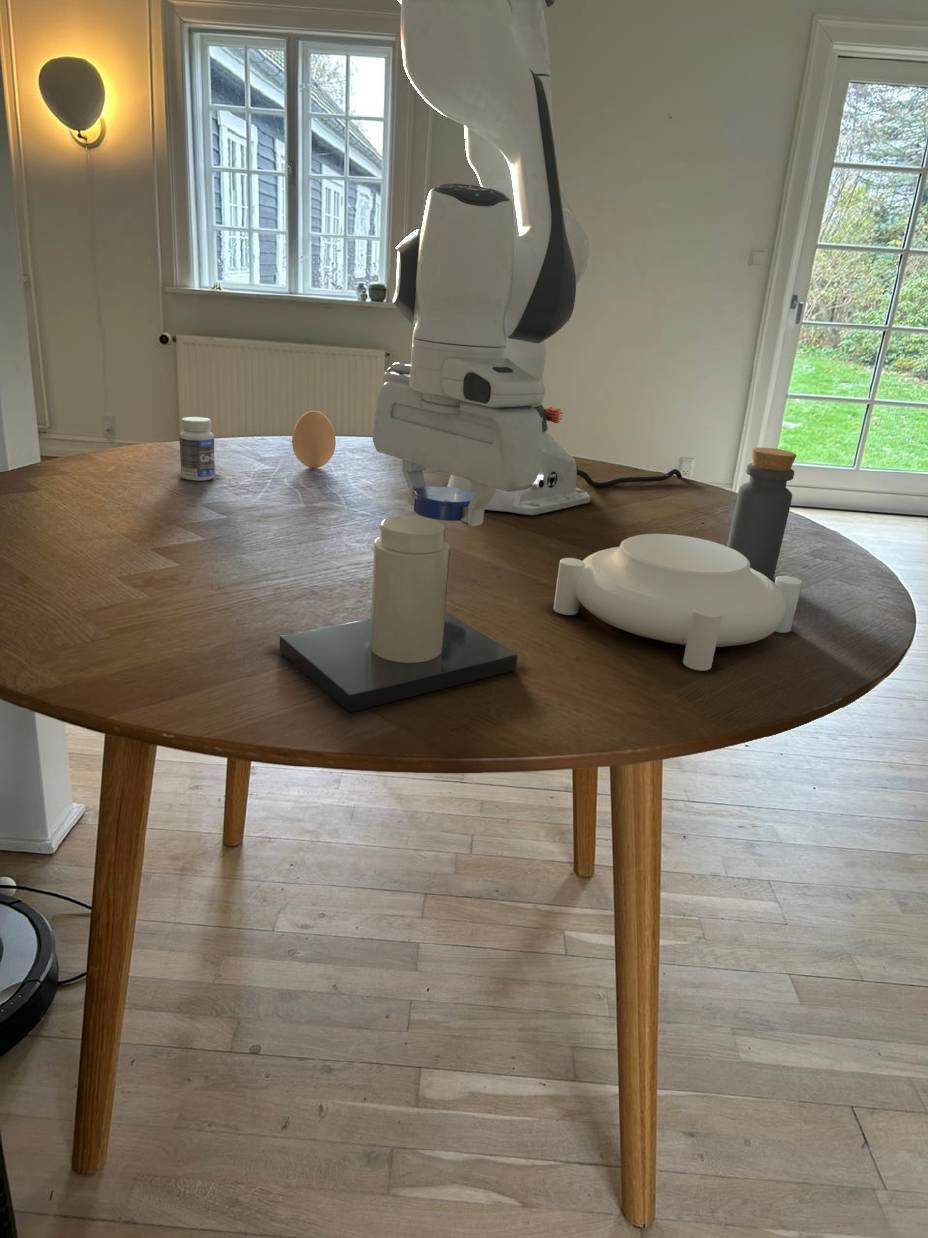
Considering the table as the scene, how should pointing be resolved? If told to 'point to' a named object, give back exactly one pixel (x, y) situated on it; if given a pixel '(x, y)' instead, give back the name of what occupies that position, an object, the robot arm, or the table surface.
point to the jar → (409, 589)
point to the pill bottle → (197, 449)
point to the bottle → (763, 509)
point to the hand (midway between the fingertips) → (444, 514)
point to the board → (391, 663)
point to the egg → (313, 439)
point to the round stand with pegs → (679, 594)
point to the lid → (441, 502)
